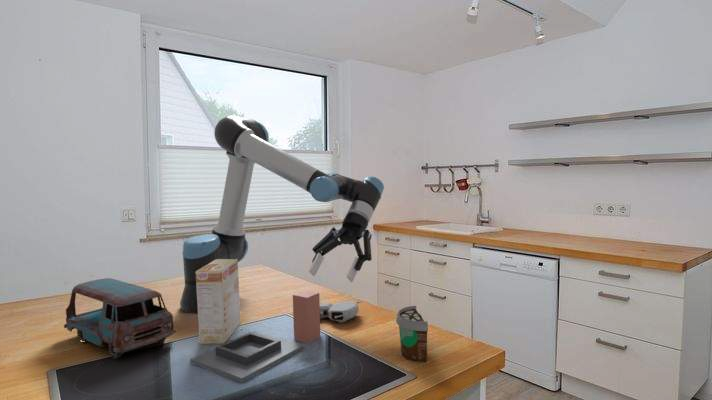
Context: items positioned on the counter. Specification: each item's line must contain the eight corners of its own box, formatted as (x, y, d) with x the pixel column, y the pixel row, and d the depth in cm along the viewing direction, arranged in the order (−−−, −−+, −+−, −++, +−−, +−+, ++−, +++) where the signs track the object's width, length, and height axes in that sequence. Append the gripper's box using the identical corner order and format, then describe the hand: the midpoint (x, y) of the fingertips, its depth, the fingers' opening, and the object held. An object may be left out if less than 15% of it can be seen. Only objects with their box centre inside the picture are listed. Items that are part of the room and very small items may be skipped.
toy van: (119, 367, 99) (115, 304, 98) (63, 339, 117) (59, 285, 116) (180, 344, 111) (177, 288, 110) (121, 321, 130) (118, 273, 129)
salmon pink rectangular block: (294, 338, 113) (292, 294, 112) (306, 332, 117) (305, 290, 117) (308, 342, 110) (307, 297, 110) (320, 336, 115) (319, 292, 114)
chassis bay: (190, 362, 100) (189, 350, 100) (254, 334, 117) (253, 324, 117) (242, 382, 90) (241, 369, 90) (304, 348, 107) (303, 337, 107)
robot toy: (303, 325, 126) (350, 327, 120) (301, 310, 126) (348, 311, 120) (321, 312, 137) (364, 313, 132) (319, 298, 137) (363, 299, 132)
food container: (392, 344, 108) (391, 306, 108) (416, 343, 109) (415, 305, 108) (401, 366, 96) (401, 323, 95) (428, 365, 97) (427, 322, 96)
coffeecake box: (218, 323, 126) (215, 258, 125) (241, 323, 126) (239, 258, 124) (197, 344, 111) (194, 271, 110) (224, 344, 111) (221, 270, 110)
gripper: (397, 228, 128) (372, 289, 117) (331, 223, 142) (303, 278, 131) (388, 212, 123) (361, 274, 112) (320, 209, 137) (291, 264, 126)
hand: (329, 276), depth 121 cm, fingers open, 13 cm apart
